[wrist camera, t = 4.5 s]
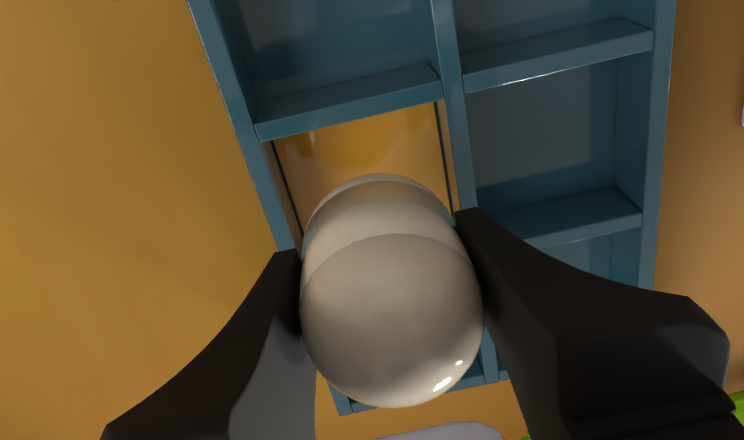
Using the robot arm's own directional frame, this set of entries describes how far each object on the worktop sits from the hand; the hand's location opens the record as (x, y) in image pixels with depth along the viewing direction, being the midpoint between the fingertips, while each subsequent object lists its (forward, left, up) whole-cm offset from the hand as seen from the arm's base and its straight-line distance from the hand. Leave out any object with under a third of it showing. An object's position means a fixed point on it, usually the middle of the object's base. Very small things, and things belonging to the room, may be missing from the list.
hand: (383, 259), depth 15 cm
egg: (0, 0, -3) cm, 3 cm away
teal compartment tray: (-3, 0, -6) cm, 7 cm away
